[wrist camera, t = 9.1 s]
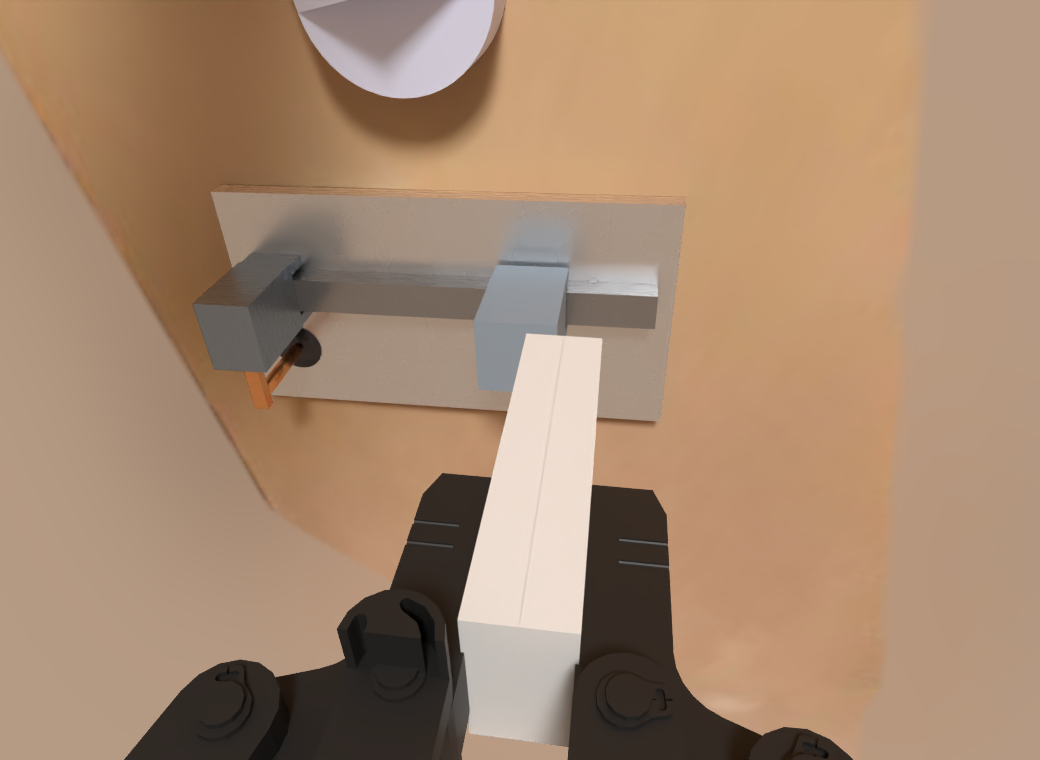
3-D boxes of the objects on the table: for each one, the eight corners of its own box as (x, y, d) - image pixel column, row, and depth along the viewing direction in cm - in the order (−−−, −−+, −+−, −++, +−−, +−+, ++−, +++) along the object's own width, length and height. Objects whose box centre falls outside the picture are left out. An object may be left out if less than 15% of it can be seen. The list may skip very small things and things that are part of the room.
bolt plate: (221, 184, 39) (141, 238, 33) (684, 196, 36) (694, 259, 30) (276, 384, 47) (220, 458, 41) (659, 410, 44) (662, 494, 37)
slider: (496, 263, 38) (473, 321, 33) (568, 266, 37) (557, 325, 32) (501, 371, 42) (481, 438, 37) (566, 375, 41) (556, 443, 36)
